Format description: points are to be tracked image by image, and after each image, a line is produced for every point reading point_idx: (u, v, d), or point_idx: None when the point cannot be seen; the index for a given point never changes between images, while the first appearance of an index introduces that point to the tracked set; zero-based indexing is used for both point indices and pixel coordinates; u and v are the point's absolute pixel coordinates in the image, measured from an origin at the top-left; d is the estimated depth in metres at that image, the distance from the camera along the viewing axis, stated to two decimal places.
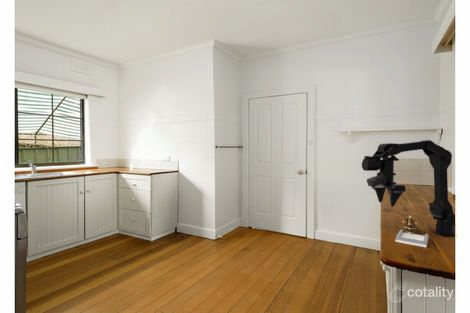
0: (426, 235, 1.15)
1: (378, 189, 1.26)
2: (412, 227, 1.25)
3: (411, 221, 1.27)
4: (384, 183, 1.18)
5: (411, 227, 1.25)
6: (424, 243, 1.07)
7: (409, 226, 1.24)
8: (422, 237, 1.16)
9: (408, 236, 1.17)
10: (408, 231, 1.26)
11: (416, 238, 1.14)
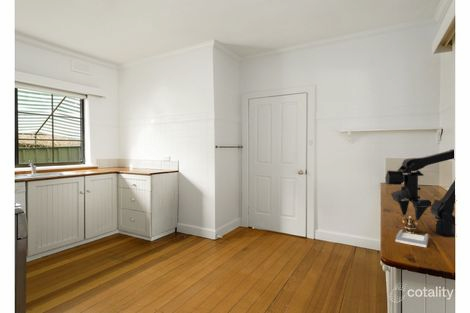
0: (426, 235, 1.15)
1: (402, 202, 1.30)
2: (412, 227, 1.25)
3: (411, 221, 1.27)
4: (409, 197, 1.22)
5: (411, 227, 1.25)
6: (424, 243, 1.07)
7: (409, 226, 1.24)
8: (422, 237, 1.16)
9: (408, 236, 1.17)
10: (408, 231, 1.26)
11: (416, 238, 1.14)
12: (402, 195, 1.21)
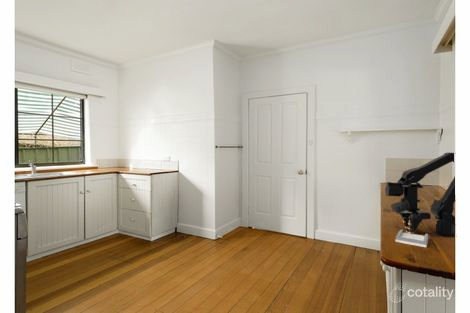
0: (426, 235, 1.15)
1: (404, 214, 1.29)
2: None
3: None
4: (409, 209, 1.23)
5: (411, 227, 1.25)
6: (424, 243, 1.07)
7: (409, 226, 1.24)
8: (422, 237, 1.16)
9: (408, 236, 1.17)
10: (408, 231, 1.26)
11: (416, 238, 1.14)
12: (402, 207, 1.21)
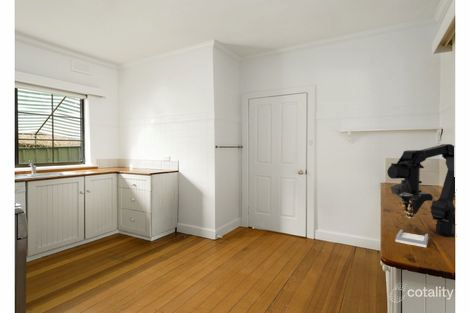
0: (426, 235, 1.15)
1: (405, 198, 1.21)
2: (412, 212, 1.18)
3: None
4: (409, 191, 1.15)
5: (411, 212, 1.18)
6: (424, 243, 1.07)
7: (409, 211, 1.17)
8: (422, 237, 1.16)
9: (408, 236, 1.17)
10: (408, 215, 1.20)
11: (416, 238, 1.14)
12: (402, 188, 1.14)
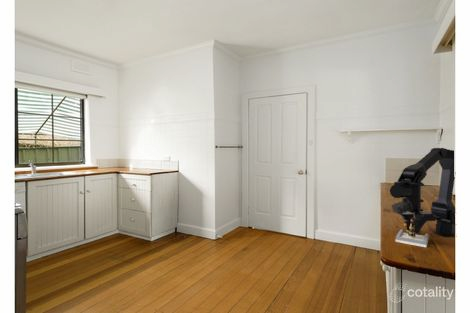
0: (426, 235, 1.15)
1: (406, 216, 1.18)
2: (414, 231, 1.14)
3: (413, 224, 1.16)
4: (411, 210, 1.12)
5: (413, 231, 1.14)
6: (424, 243, 1.07)
7: (410, 230, 1.14)
8: (422, 237, 1.16)
9: (408, 236, 1.17)
10: (409, 234, 1.16)
11: (416, 238, 1.14)
12: (403, 208, 1.10)
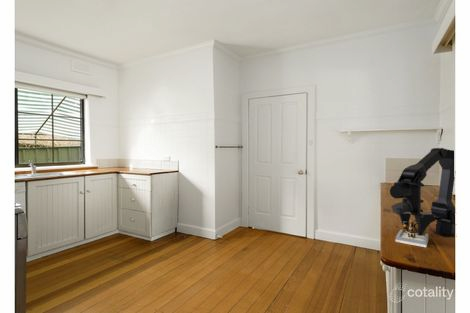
0: (426, 235, 1.15)
1: (403, 215, 1.20)
2: (414, 232, 1.15)
3: (413, 225, 1.17)
4: (411, 211, 1.12)
5: (413, 232, 1.15)
6: (424, 243, 1.07)
7: (410, 231, 1.14)
8: (422, 237, 1.16)
9: None
10: (409, 236, 1.16)
11: (416, 238, 1.14)
12: (403, 208, 1.10)
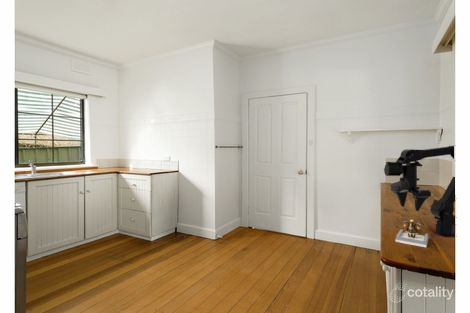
0: (426, 235, 1.15)
1: (400, 194, 1.29)
2: (414, 232, 1.15)
3: (413, 225, 1.17)
4: (408, 188, 1.21)
5: (413, 232, 1.15)
6: (424, 243, 1.07)
7: (410, 231, 1.14)
8: (422, 237, 1.16)
9: None
10: (410, 236, 1.16)
11: (416, 238, 1.14)
12: (402, 186, 1.19)
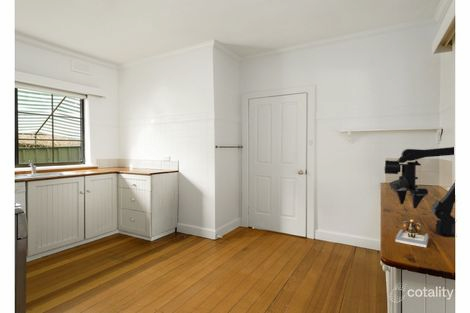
0: (426, 235, 1.15)
1: (400, 192, 1.33)
2: (414, 232, 1.15)
3: (413, 225, 1.17)
4: (407, 186, 1.25)
5: (413, 232, 1.15)
6: (424, 243, 1.07)
7: (410, 231, 1.14)
8: (422, 237, 1.16)
9: None
10: (410, 236, 1.16)
11: (416, 238, 1.14)
12: (400, 184, 1.24)
